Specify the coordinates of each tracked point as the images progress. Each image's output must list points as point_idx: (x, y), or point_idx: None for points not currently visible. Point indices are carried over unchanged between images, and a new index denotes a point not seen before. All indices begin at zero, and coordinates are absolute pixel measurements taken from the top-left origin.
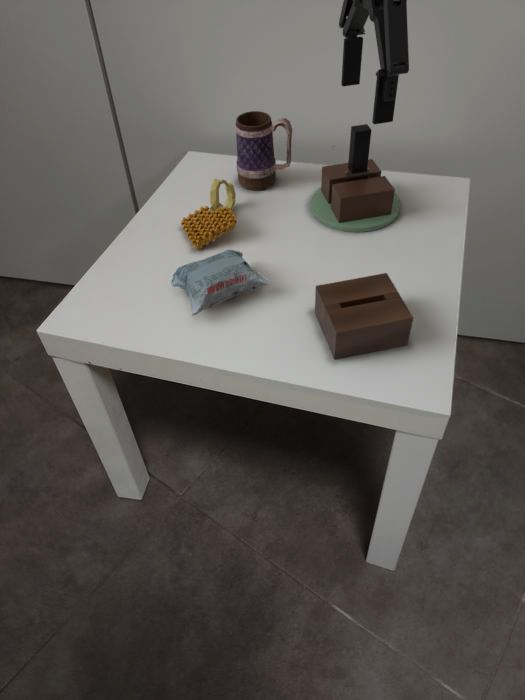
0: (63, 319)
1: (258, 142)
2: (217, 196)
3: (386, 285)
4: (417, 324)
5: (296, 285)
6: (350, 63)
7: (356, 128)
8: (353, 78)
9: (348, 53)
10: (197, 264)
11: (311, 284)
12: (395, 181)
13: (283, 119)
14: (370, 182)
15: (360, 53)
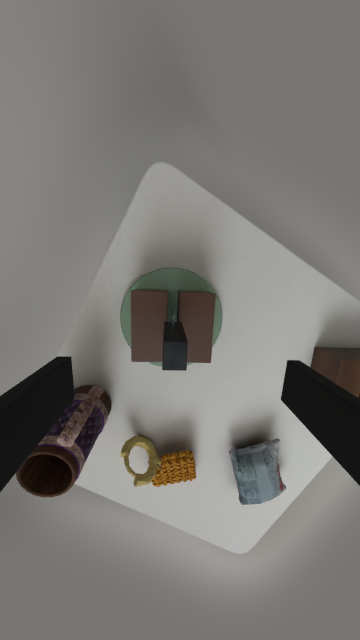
0: (238, 548)
1: (87, 451)
2: (152, 473)
3: (356, 366)
4: (351, 331)
5: (268, 405)
6: (35, 423)
7: (174, 364)
8: (63, 382)
9: (9, 463)
10: (254, 498)
11: (272, 394)
12: (134, 250)
13: (65, 440)
14: (189, 316)
15: (8, 414)
